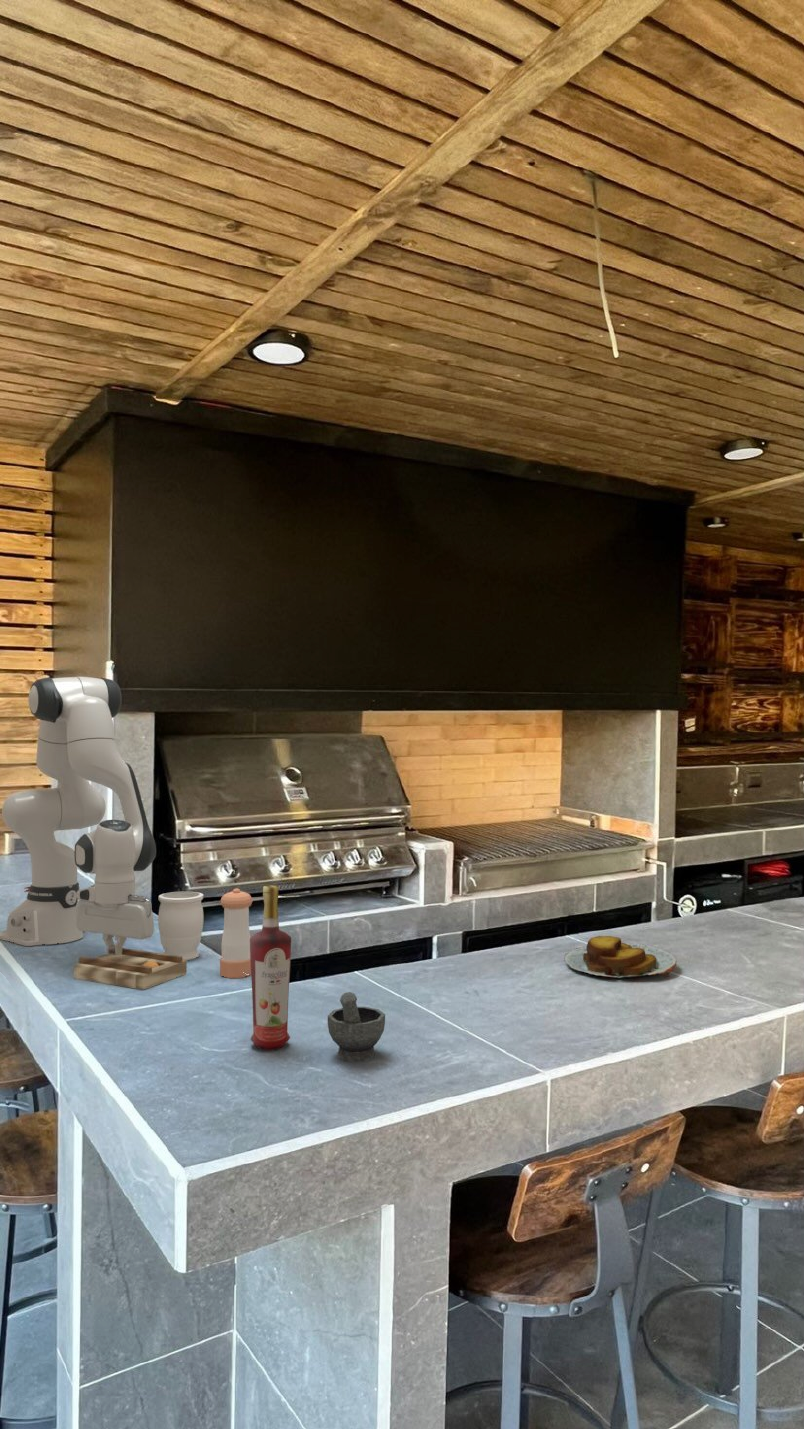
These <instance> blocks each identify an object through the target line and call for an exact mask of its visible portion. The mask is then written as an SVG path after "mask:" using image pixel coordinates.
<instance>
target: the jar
mask: <svg viewBox="0 0 804 1429" xmlns="http://www.w3.org/2000/svg"><path fill="white" fill-rule="evenodd" d="M203 899H204V894H203V893H201V892H197V891H172V892H166V893H162V894H159V895H158V901H159V902H160V904H159V907H158V908H159V909H158V916H157V918H158V919H157V922H158V923H157V924H158V932H159V938H160V944H161V946H162V948H163V950H164V953H163V954H167V955H174V956H181V957H182V960H187V961H190V960H194V959H196V957H197V958H198V957H200V956H199V955H200V953H199V952H198V948H199V946H200V943H201V939H202V934H203V927H204V908H203V905H202V900H203Z"/></svg>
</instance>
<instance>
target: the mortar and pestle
mask: <svg viewBox="0 0 804 1429" xmlns="http://www.w3.org/2000/svg"><path fill="white" fill-rule="evenodd" d="M357 998H358V997H357V995H356V994H355V993H354V992H350V991H349V992H345V993H343V994H341V996H340V999H339V1002H340V1004H341V1006H342V1007H341V1008H338V1009H333V1010H332V1011H331V1012H330V1013H329V1014H328V1015H327V1027H328V1033H329V1035H330V1037H331V1039H332V1041H333V1043H335V1044H336V1045H337V1046H338V1052H337V1056H338V1057H339V1058H340V1060H342V1061H346V1062H351V1063H353V1062H355V1063H357V1062H361V1063H362V1062H366V1061H368V1060H372V1059H373V1058H374V1056H375V1048H374V1047H375V1045H376V1044H377V1043H378V1042H379V1041H380V1039H381V1037H382V1035H383V1033H384V1030H385V1024H386V1014H385V1013H384V1012H382V1011H381V1010H380V1009H378V1008H374V1007H368V1006H358V1005H357V1000H358V999H357Z"/></svg>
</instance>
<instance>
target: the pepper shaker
mask: <svg viewBox="0 0 804 1429" xmlns="http://www.w3.org/2000/svg"><path fill="white" fill-rule="evenodd" d="M220 903H221V906H222V908H223V909H224V910H223V930H222V937H221V944H220V945H221V957H220V959H219V976H220V975H221V976H220V977H222V976H224V977H223V978H225V977H227V978H228V979H241V978H246V977H245V976H247V977H249V976H248V975H246V974H249V975H250V976H251V961H250V938H251V937H252V936H251V932H250V927H249V926H250V923H249V922H250V918H249V917H250V910H249V909H250V908H249V907H251V906H252V903H253V898H252V896H251V894H250V893H247V892H246V891H241V889H240V888H234V889H233V890H232V891H229V892H227V893H225V894H223V895H222V897H221V899H220ZM243 972H244V973H243ZM245 973H246V974H245ZM227 978H226V979H227Z"/></svg>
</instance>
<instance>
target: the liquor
mask: <svg viewBox="0 0 804 1429" xmlns="http://www.w3.org/2000/svg"><path fill="white" fill-rule="evenodd" d="M262 897H263V898H262V899H263V903H264V908H263V916H262V925H261V926H262V929H261V930H260V931H257V932H255V934H254V935H252V936H250V937H251V938H250V961H251V975H250V976H251V978H250V979H251V995H252V997H251V998H252V1024H253V1025H252V1028H253V1029H252V1033H253V1034H252V1035H251V1037H250V1041H251V1042H252V1043H253V1044H254V1045H255V1046H256V1047H258V1048H259V1049H261V1050H266V1051H271V1050H272V1051H274V1050H279V1049H281V1048H283V1047H284V1046H285V1044H286V1043H287V1042H289V1040H290V1039H291V1036H290V1035H289V1032H288V1026H289V1025H288V1024H289V1023H288V1020H289V1019H288V1018H289V1013H288V1012H289V997H290V996H289V991H290V990H289V989H290V978H291V961H292V960H291V957H292V956H291V954H292V953H291V952H292V936H290V935H289V933H287V932H285V931H283V930H280V924H279V922H280V921H279V912H278V901H279V900H278V899H279V885H265V886H262Z"/></svg>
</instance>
